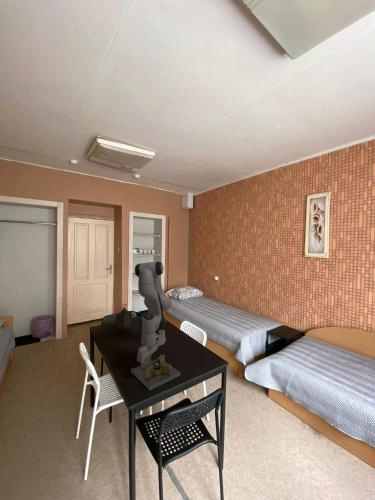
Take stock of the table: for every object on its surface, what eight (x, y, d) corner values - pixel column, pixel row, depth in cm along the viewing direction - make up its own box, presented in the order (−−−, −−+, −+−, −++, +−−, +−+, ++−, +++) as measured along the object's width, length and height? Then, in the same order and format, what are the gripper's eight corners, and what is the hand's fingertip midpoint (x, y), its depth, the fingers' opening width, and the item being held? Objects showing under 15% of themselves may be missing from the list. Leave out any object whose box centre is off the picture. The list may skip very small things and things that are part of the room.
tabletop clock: (123, 333, 193) (123, 306, 193) (114, 332, 196) (115, 305, 196) (132, 328, 207) (132, 302, 207) (124, 327, 210) (124, 301, 210)
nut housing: (131, 372, 134) (131, 361, 134) (160, 360, 149) (160, 350, 149) (149, 390, 118) (149, 378, 118) (180, 375, 132) (180, 364, 132)
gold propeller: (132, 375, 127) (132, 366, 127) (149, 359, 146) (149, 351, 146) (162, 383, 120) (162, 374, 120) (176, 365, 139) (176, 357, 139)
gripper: (143, 348, 126) (143, 371, 126) (160, 335, 145) (159, 355, 145) (134, 346, 128) (134, 369, 128) (152, 334, 147) (151, 354, 147)
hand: (147, 362), depth 137 cm, fingers closed, pressing on gold propeller
